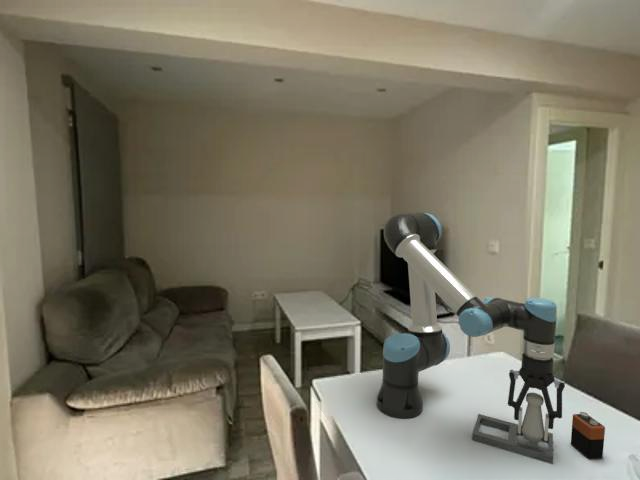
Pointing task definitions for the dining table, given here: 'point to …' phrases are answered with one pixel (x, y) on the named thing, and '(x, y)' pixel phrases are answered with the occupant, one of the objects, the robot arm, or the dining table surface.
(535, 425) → the salt shaker
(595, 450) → the battery
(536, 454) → the double window frame
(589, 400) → the dining table surface
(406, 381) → the robot arm
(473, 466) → the dining table surface
